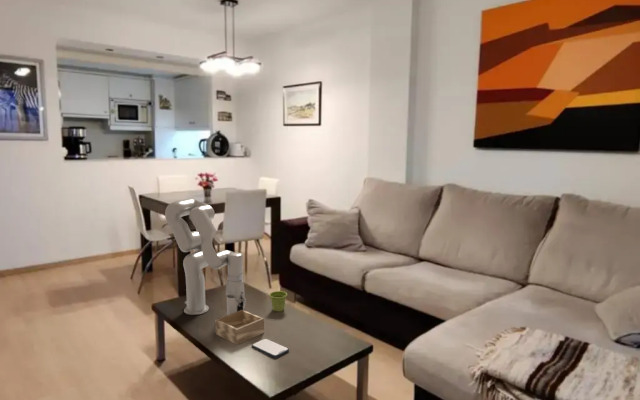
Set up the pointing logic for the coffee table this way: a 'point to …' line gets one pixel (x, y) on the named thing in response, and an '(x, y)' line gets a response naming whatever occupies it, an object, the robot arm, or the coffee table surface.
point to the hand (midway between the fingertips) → (235, 310)
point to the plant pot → (278, 300)
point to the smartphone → (270, 348)
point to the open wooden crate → (239, 326)
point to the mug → (232, 305)
